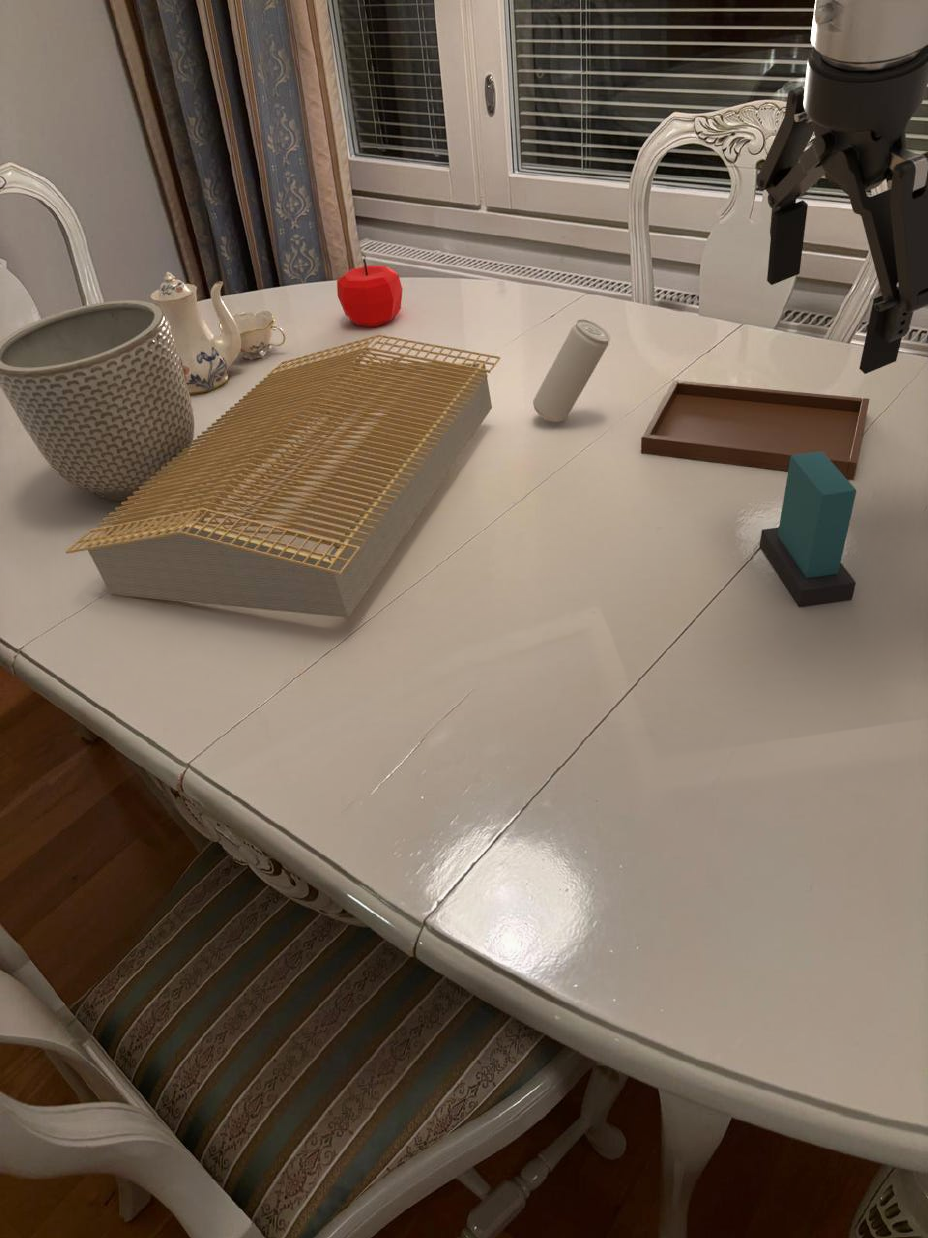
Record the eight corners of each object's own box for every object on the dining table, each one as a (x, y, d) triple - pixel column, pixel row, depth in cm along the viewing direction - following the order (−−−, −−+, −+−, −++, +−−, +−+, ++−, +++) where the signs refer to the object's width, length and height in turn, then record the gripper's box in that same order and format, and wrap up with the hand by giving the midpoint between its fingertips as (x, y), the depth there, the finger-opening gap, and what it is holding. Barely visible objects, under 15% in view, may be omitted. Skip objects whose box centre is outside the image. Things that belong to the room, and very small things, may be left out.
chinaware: (282, 345, 145) (255, 238, 135) (301, 372, 131) (273, 255, 122) (107, 385, 139) (68, 275, 129) (109, 418, 125) (65, 298, 116)
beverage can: (526, 397, 113) (570, 314, 105) (557, 405, 115) (603, 324, 108) (537, 420, 110) (583, 335, 102) (570, 427, 112) (617, 345, 104)
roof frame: (358, 627, 81) (330, 540, 75) (91, 600, 92) (49, 523, 87) (507, 403, 112) (495, 330, 106) (294, 404, 124) (274, 338, 118)
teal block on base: (807, 539, 89) (826, 441, 82) (852, 599, 81) (876, 497, 74) (759, 545, 89) (773, 448, 82) (799, 607, 81) (818, 505, 74)
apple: (405, 328, 141) (396, 264, 135) (339, 334, 142) (327, 271, 136) (407, 304, 150) (399, 243, 143) (345, 310, 150) (334, 249, 144)
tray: (866, 414, 107) (869, 398, 106) (853, 479, 96) (857, 462, 95) (672, 394, 116) (672, 379, 114) (640, 452, 105) (641, 436, 104)
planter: (54, 472, 115) (-16, 331, 103) (200, 425, 120) (149, 285, 108) (68, 544, 101) (-12, 390, 89) (233, 487, 106) (179, 333, 94)
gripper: (719, 0, 64) (712, 260, 81) (947, 145, 49) (878, 426, 66) (814, -37, 64) (786, 230, 81) (1068, 96, 49) (968, 388, 66)
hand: (827, 319), depth 74 cm, fingers open, 13 cm apart
